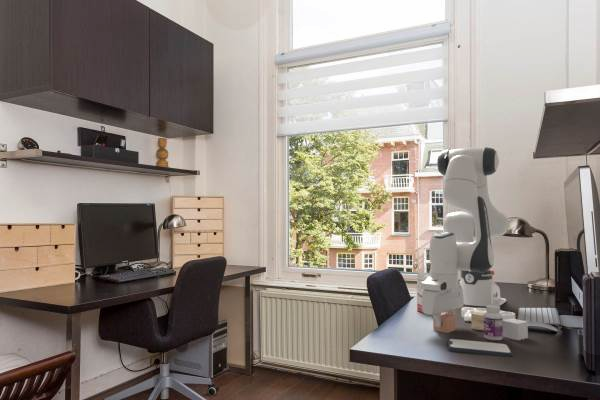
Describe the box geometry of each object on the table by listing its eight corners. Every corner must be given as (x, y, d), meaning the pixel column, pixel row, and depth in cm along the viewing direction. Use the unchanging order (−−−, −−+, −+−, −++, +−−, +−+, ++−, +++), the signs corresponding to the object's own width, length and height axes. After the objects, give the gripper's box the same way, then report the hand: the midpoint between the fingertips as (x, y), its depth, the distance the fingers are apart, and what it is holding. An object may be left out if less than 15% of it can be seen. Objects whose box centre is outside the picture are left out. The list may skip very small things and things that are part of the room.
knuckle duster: (454, 321, 154) (466, 314, 166) (510, 329, 144) (518, 320, 156) (454, 312, 154) (465, 305, 166) (510, 318, 144) (517, 311, 156)
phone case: (507, 349, 123) (447, 343, 127) (507, 343, 123) (447, 338, 127) (513, 359, 114) (448, 352, 119) (513, 353, 114) (448, 347, 119)
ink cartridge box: (424, 313, 165) (423, 274, 166) (416, 311, 170) (416, 273, 170) (443, 312, 168) (442, 273, 168) (435, 309, 173) (435, 272, 173)
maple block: (474, 325, 147) (474, 310, 147) (490, 327, 144) (490, 312, 144) (471, 329, 143) (471, 313, 143) (487, 331, 140) (487, 315, 140)
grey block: (512, 334, 136) (511, 318, 136) (527, 338, 132) (527, 321, 132) (502, 336, 133) (502, 320, 134) (518, 340, 129) (517, 323, 129)
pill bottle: (479, 336, 133) (479, 305, 134) (493, 335, 135) (492, 303, 136) (493, 341, 128) (492, 308, 129) (507, 339, 130) (506, 307, 130)
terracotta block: (441, 327, 145) (441, 312, 145) (455, 330, 141) (455, 314, 141) (433, 330, 142) (433, 314, 142) (447, 333, 138) (447, 317, 138)
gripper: (451, 277, 151) (451, 318, 151) (418, 284, 138) (418, 328, 137) (468, 279, 147) (469, 321, 146) (436, 286, 133) (436, 332, 132)
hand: (444, 324), depth 141 cm, fingers open, 5 cm apart
